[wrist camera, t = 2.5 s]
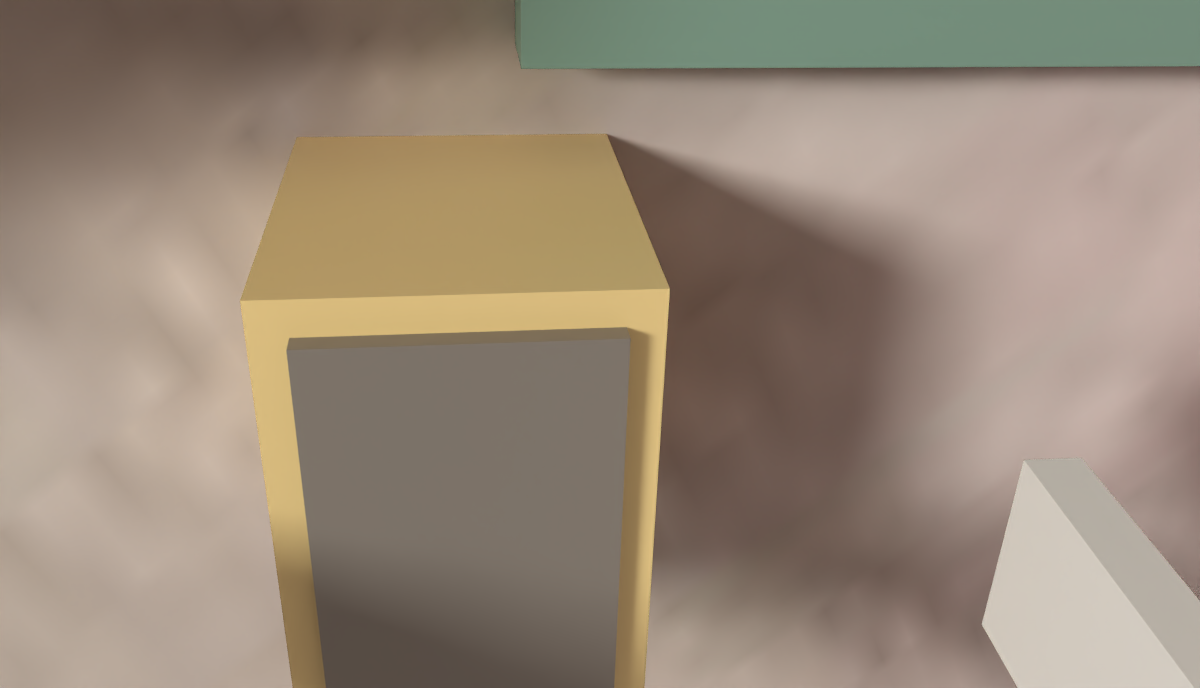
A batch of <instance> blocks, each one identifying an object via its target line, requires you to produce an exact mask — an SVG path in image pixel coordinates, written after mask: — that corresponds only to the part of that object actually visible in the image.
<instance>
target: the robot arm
mask: <svg viewBox="0 0 1200 688" xmlns="http://www.w3.org/2000/svg"><path fill="white" fill-rule="evenodd" d="M982 626H983V628H984V629H985V631H986V633H987V635H988V636H989V638H990V640H991V642H992V643H993V645H994V647H995V649H996V650H997V652H998V654H999V656H1000V658H1001V659H1002V661H1003V663H1004V665H1005V666H1006V668H1007V670H1008V672H1009V673H1010V675H1011V677H1012V679H1013V680H1014V682H1015V684H1016V686H1017V688H1200V600H1199V599H1198V598H1197V597H1196V596H1195V594H1194V593H1193V592H1192V591H1191V590H1190V588H1189V587H1188V586H1187V585H1186V584H1185V582H1184V581H1183V580H1182V579H1181V577H1180V576H1179V575H1178V574H1177V573H1176V571H1175V570H1174V569H1173V568H1172V567H1171V565H1170V564H1169V563H1168V562H1167V561H1166V559H1165V558H1164V557H1163V556H1162V554H1161V553H1160V552H1159V551H1158V550H1157V548H1156V547H1155V546H1154V545H1153V544H1152V542H1151V541H1150V540H1149V539H1148V538H1147V536H1146V535H1145V534H1144V533H1143V532H1142V530H1141V529H1140V528H1139V527H1138V525H1137V524H1136V523H1135V522H1134V521H1133V519H1132V518H1131V517H1130V516H1129V515H1128V513H1127V512H1126V511H1125V510H1124V509H1123V507H1122V506H1121V505H1120V504H1119V502H1118V501H1117V500H1116V499H1115V498H1114V496H1113V495H1112V494H1111V493H1110V492H1109V490H1108V489H1107V488H1106V487H1105V486H1104V484H1103V483H1102V482H1101V481H1100V480H1099V478H1098V477H1097V476H1096V475H1095V473H1094V472H1093V471H1092V470H1091V469H1090V467H1089V466H1088V465H1087V464H1086V463H1085V461H1084V460H1083V459H1082V458H1060V459H1033V460H1024V462H1023V465H1022V469H1021V473H1020V477H1019V481H1018V485H1017V489H1016V493H1015V497H1014V501H1013V505H1012V508H1011V512H1010V516H1009V520H1008V524H1007V528H1006V532H1005V536H1004V540H1003V544H1002V547H1001V551H1000V555H999V559H998V563H997V567H996V571H995V575H994V579H993V583H992V587H991V590H990V594H989V598H988V602H987V606H986V610H985V614H984V618H983V622H982Z"/></svg>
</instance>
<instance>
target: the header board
mask: <svg viewBox="0 0 1200 688" xmlns="http://www.w3.org/2000/svg"><path fill="white" fill-rule="evenodd" d="M515 44H516V49H517V53H518V57H519V61H520V65H521V69H589V68H850V67H1111V66H1200V0H515Z"/></svg>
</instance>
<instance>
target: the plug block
mask: <svg viewBox="0 0 1200 688" xmlns="http://www.w3.org/2000/svg"><path fill="white" fill-rule="evenodd" d="M669 295H670V288H669V285H668V283H667V281H666V278H665V276H664V273H663V271H662V268H661V266H660V263H659V261H658V259H657V256H656V254H655V251H654V249H653V246H652V244H651V241H650V239H649V237H648V234H647V232H646V229H645V227H644V224H643V222H642V219H641V217H640V215H639V212H638V210H637V207H636V205H635V202H634V200H633V197H632V195H631V193H630V190H629V188H628V185H627V183H626V180H625V178H624V175H623V173H622V171H621V168H620V166H619V163H618V161H617V158H616V156H615V153H614V151H613V149H612V146H611V144H610V141H609V139H608V136H607V134H547V135H457V136H367V137H297V138H296V141H295V144H294V147H293V150H292V153H291V156H290V158H289V161H288V164H287V167H286V170H285V173H284V176H283V179H282V181H281V184H280V187H279V190H278V193H277V196H276V199H275V202H274V204H273V207H272V210H271V213H270V216H269V219H268V222H267V225H266V228H265V230H264V233H263V236H262V239H261V242H260V245H259V248H258V251H257V253H256V256H255V259H254V262H253V265H252V268H251V271H250V274H249V277H248V279H247V282H246V285H245V288H244V291H243V294H242V297H241V300H240V304H241V312H242V319H243V326H244V334H245V341H246V348H247V356H248V363H249V370H250V378H251V385H252V392H253V400H254V407H255V414H256V422H257V429H258V436H259V444H260V451H261V458H262V466H263V473H264V480H265V488H266V495H267V502H268V510H269V517H270V524H271V532H272V539H273V546H274V554H275V561H276V568H277V576H278V583H279V590H280V598H281V605H282V612H283V620H284V627H285V634H286V642H287V649H288V656H289V664H290V671H291V678H292V686H293V688H644V685H645V669H646V653H647V638H648V622H649V607H650V591H651V575H652V560H653V544H654V529H655V513H656V497H657V482H658V466H659V451H660V435H661V419H662V404H663V388H664V373H665V357H666V341H667V326H668V310H669Z"/></svg>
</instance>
